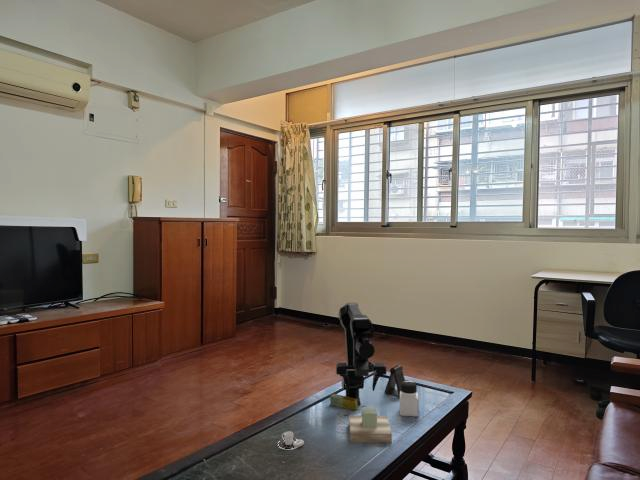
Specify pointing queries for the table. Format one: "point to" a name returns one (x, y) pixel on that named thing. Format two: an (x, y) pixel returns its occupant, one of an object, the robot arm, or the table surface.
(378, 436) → the base block
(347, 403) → the medication box
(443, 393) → the table surface
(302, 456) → the table surface
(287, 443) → the teacup and saucer
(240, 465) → the table surface
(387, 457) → the table surface
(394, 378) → the phone stand
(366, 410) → the green cube
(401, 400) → the medicine bottle
